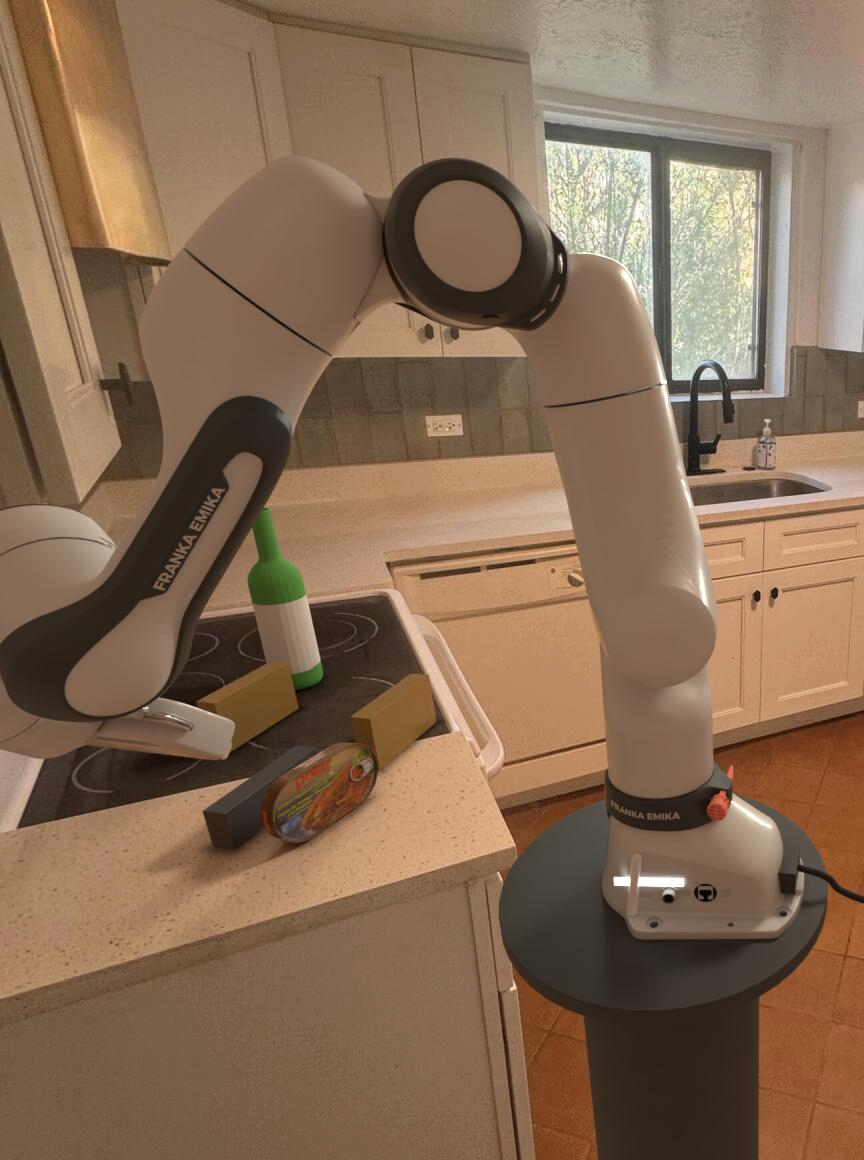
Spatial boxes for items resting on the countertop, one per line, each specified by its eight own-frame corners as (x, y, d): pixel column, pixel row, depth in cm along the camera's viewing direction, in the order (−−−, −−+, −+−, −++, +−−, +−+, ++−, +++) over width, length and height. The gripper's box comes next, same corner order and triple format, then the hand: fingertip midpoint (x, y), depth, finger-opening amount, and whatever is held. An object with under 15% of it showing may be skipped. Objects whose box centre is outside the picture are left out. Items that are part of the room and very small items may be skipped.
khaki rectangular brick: (436, 722, 120) (429, 674, 117) (380, 770, 107) (369, 718, 104) (419, 720, 120) (410, 673, 117) (360, 768, 107) (349, 716, 104)
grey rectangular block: (323, 780, 105) (316, 747, 103) (234, 850, 91) (224, 813, 89) (303, 777, 105) (296, 745, 103) (212, 847, 91) (201, 811, 90)
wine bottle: (333, 674, 136) (298, 504, 125) (307, 694, 128) (267, 515, 118) (290, 673, 136) (251, 503, 125) (262, 693, 129) (217, 515, 118)
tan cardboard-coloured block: (298, 708, 124) (288, 662, 121) (228, 753, 111) (214, 703, 108) (282, 706, 124) (271, 661, 121) (210, 751, 111) (195, 701, 109)
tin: (284, 858, 89) (268, 795, 86) (264, 851, 91) (247, 789, 88) (384, 788, 103) (373, 732, 100) (366, 784, 104) (354, 728, 101)
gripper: (173, 675, 63) (287, 724, 75) (-33, 654, 66) (109, 705, 79) (138, 751, 60) (262, 790, 73) (-74, 726, 64) (79, 767, 76)
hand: (181, 745), depth 76 cm, fingers open, 8 cm apart
